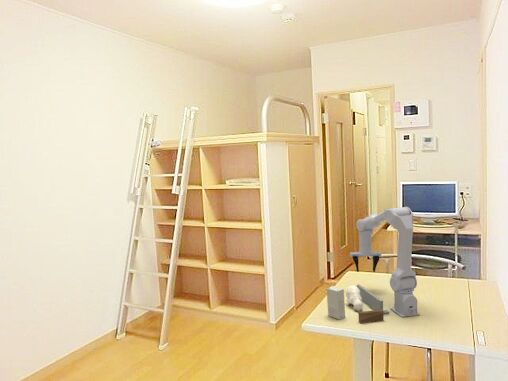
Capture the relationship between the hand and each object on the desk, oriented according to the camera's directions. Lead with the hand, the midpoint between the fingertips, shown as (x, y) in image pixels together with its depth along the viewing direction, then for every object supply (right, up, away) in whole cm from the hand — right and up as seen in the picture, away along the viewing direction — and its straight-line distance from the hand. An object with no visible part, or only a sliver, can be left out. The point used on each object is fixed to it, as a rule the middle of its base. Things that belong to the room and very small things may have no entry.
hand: (365, 271), depth 193 cm
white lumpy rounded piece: (-9, -12, -18) cm, 24 cm away
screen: (-2, -12, -16) cm, 20 cm away
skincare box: (-20, -14, -27) cm, 36 cm away
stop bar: (-7, -13, -33) cm, 36 cm away
